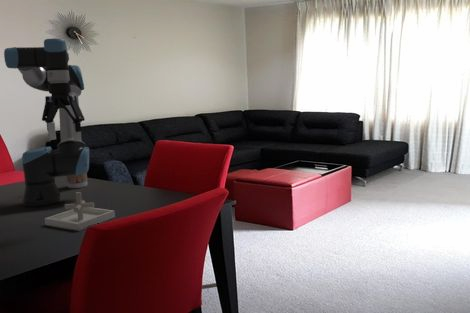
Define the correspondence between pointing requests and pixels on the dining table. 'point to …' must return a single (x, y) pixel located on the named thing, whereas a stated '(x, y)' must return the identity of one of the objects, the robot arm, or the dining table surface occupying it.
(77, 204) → the pipe connector
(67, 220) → the tray
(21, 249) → the dining table surface
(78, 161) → the robot arm
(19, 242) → the dining table surface
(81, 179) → the fruit juice
